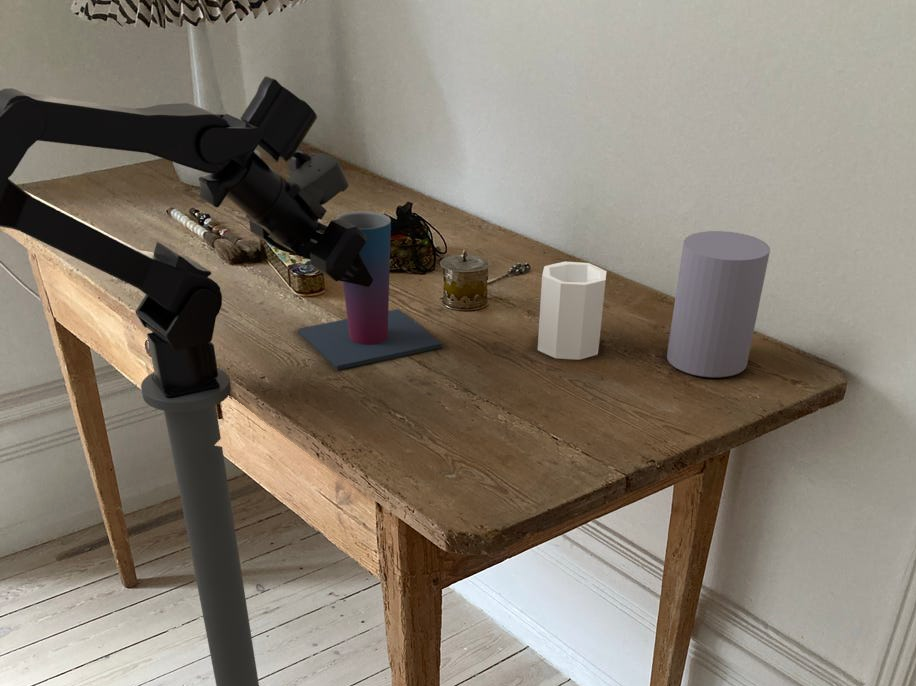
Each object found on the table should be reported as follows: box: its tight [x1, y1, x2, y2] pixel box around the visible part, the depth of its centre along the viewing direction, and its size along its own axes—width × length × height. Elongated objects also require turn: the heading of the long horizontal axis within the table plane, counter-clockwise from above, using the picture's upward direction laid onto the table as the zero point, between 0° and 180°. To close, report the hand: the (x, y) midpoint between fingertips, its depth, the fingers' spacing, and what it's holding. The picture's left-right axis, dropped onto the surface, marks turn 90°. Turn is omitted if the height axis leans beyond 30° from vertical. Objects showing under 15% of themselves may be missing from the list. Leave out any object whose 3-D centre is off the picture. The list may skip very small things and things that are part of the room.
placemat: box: [297, 308, 443, 371], centre depth 136 cm, size 15×13×1 cm
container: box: [666, 230, 771, 379], centre depth 129 cm, size 10×10×15 cm
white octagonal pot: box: [537, 261, 607, 361], centre depth 135 cm, size 12×9×10 cm
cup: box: [335, 211, 392, 344], centre depth 131 cm, size 7×7×15 cm
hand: (349, 272), depth 129 cm, fingers open, 9 cm apart
